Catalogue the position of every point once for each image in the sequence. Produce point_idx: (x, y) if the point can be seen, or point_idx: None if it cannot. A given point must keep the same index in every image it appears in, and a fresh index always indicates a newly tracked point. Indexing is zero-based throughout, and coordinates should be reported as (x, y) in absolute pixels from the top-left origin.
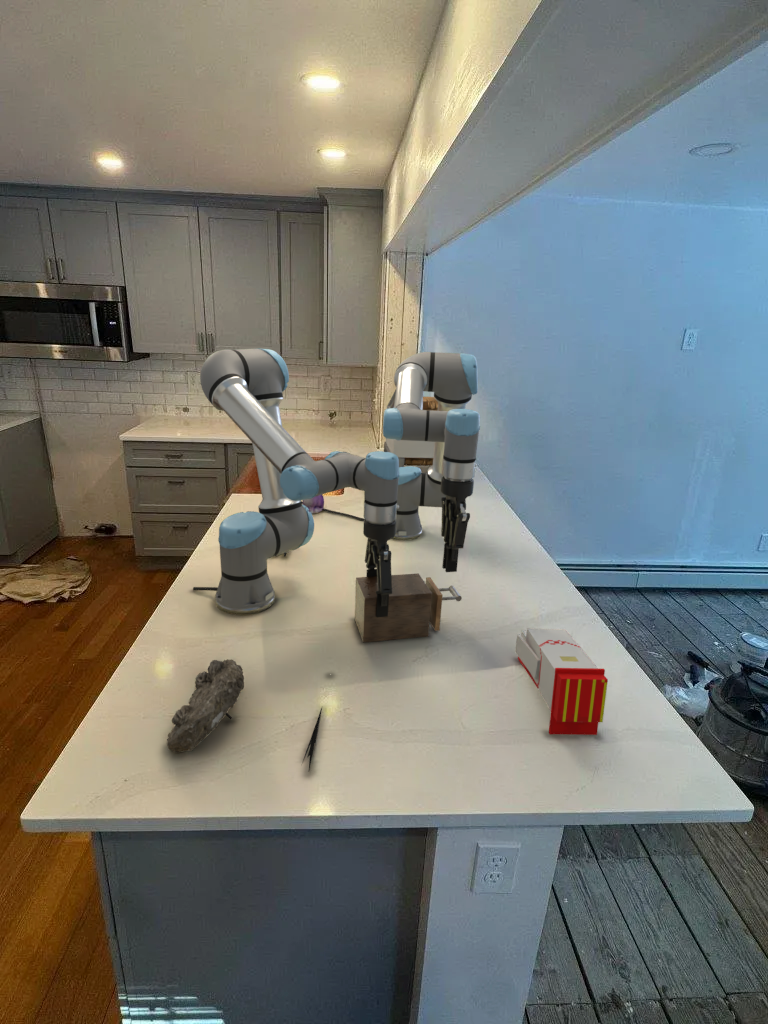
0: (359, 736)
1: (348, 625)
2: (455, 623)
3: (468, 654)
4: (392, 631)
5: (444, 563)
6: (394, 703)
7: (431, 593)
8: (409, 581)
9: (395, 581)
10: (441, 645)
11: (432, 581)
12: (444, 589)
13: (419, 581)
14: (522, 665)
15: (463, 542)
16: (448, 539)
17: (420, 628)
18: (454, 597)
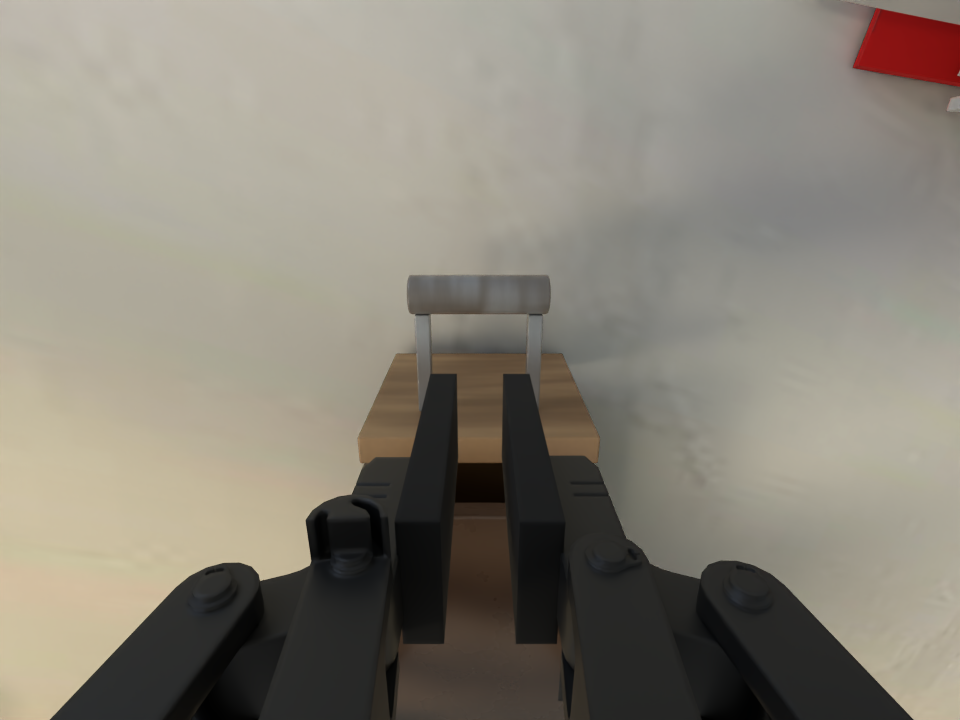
0: (943, 667)
1: None
2: (491, 248)
3: (731, 281)
4: None
5: (455, 477)
6: (871, 578)
7: None
8: (449, 589)
9: (438, 649)
10: (639, 364)
11: None
12: (430, 345)
13: (456, 541)
14: (933, 81)
15: (865, 685)
16: (390, 650)
17: None
18: (540, 322)
